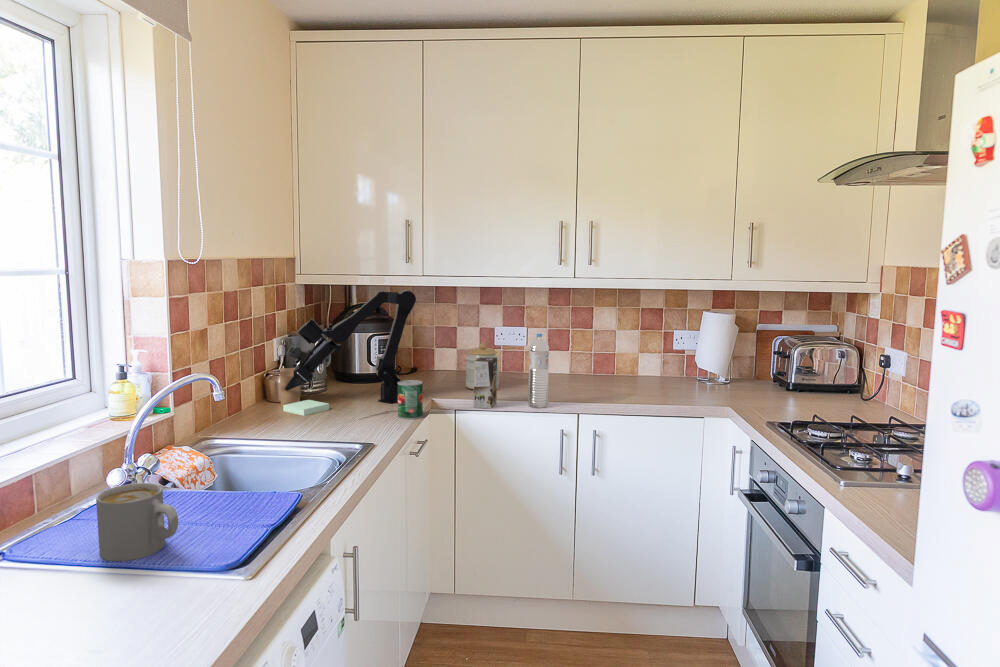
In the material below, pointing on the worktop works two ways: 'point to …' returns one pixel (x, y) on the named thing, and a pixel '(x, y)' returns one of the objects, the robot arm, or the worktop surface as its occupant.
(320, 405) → the sage top slab
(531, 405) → the water bottle
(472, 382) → the jar
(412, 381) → the canned tomato
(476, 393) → the coffee box
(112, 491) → the coffee mug
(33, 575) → the worktop surface
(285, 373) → the walnut post
